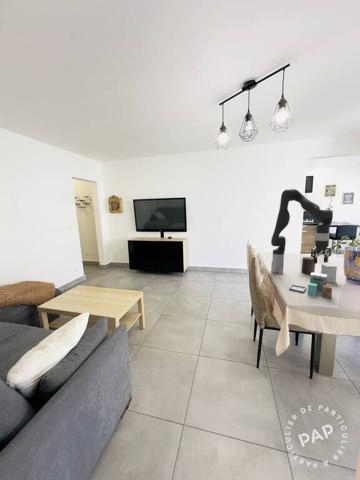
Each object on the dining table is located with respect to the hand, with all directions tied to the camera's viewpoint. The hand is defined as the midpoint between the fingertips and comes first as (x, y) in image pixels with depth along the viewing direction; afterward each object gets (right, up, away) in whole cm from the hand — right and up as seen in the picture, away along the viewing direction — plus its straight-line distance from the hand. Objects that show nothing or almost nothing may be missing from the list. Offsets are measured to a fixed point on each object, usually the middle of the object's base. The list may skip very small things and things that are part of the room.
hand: (320, 262), depth 133 cm
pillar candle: (+17, -14, +39) cm, 45 cm away
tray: (-12, -20, +6) cm, 24 cm away
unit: (+1, -19, +4) cm, 20 cm away
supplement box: (+21, -17, +20) cm, 33 cm away
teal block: (-8, -21, -2) cm, 22 cm away
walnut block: (-1, -21, -7) cm, 22 cm away
